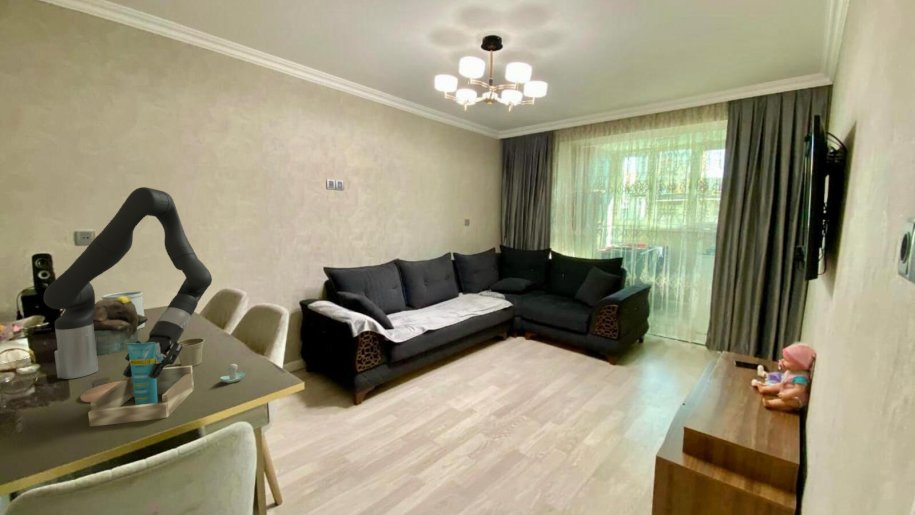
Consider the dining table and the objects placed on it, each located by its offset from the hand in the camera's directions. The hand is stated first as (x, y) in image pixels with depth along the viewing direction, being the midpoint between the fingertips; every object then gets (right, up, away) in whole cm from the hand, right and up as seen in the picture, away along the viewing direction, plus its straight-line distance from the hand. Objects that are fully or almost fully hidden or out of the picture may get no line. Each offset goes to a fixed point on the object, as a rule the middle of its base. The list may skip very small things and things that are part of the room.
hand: (139, 376), depth 106 cm
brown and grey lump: (-55, -4, +50) cm, 74 cm away
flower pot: (-9, -6, +33) cm, 35 cm away
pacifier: (+15, -8, +20) cm, 26 cm away
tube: (0, -10, +2) cm, 10 cm away
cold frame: (0, -9, +2) cm, 10 cm away
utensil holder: (-72, -1, +76) cm, 105 cm away
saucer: (-19, -8, +11) cm, 23 cm away
